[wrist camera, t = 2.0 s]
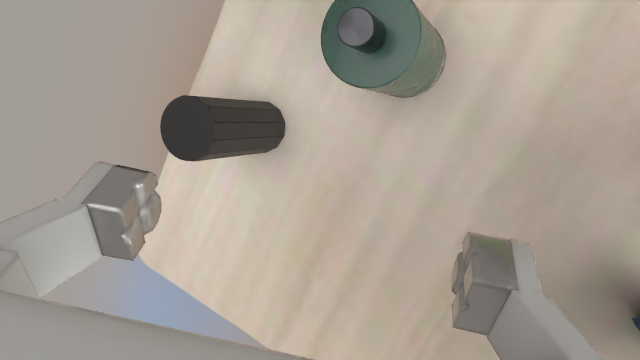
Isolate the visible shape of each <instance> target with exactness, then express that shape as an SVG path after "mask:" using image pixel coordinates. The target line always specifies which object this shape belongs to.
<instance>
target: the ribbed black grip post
mask: <svg viewBox="0 0 640 360" xmlns="http://www.w3.org/2000/svg"><path fill="white" fill-rule="evenodd" d="M284 122H285V121H284V119H283V116H282V114H281V112H280V110H279V109H278V108H276V107H275V106H274V105H272V104H271V103H269V102H259V101H247V100H235V99H222V98H210V97H198V96H186V95H185V96H181V97H178V98H176V99H174V100H173V101H172V102H170V103H169V105H168V106H167V107H166V109H165V110H164V113H163V115H162V119H161V135H162V139H163V142H164V144H165V146H166V147H167V149H168V150H169V151H170V152H171V153H172V154H173V155H174V156H175V157H177V158H179V159H181V160H185V161H201V160H209V159H217V158H225V157H233V156H240V155H248V154H256V153H264V152H268V151H270V150H272V149H274V148H276V147H277V146H278V145H279V143H280V142H281V140H282V139H283V137H284V131H285V123H284Z"/></svg>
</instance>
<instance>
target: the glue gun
mask: <svg viewBox="0 0 640 360" xmlns="http://www.w3.org/2000/svg"><path fill="white" fill-rule="evenodd" d="M632 320H633V322H634V324H635V326H636V327H637V328H638V329H639V330H640V314H639V315H637V316H636V317H634V318H632Z"/></svg>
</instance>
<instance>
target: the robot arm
mask: <svg viewBox="0 0 640 360" xmlns="http://www.w3.org/2000/svg"><path fill="white" fill-rule="evenodd" d="M157 185H158V182H157V178H156V174H154V173H152V172H148V171H143V170H139V169H135V168H130V167H125V166H120V165H113V164H109V163H105V162H97V163H95V164H94V165H93V166H92V167H91V168H90V169H89V170H88V171H87V172H86V174H85V175H84V176H83V177H82V178H81V179H80V180H79V181H78V182H77V183H76V184H75V186H74V187H73V188H72V189H71V190H70V191H69V192H68V194H66V196H65V197H64V198H63V199H62V200H58V199H55V200H53V201H50V202H48V203H46V204H43V205H41V206H38V207H36V208H34V209H31V210H29V211H26V212H24V213H22V214H19V215H17V216H14V217H12V218H10V219H7V220H5V221H3V222H0V360H314V359H310V358H305V357H300V356H296V355H291V354H287V353H282V352H278V351H273V350H269V349H264V348H260V347H255V346H251V345H246V344H241V343H237V342H232V341H228V340H223V339H218V338H214V337H209V336H205V335H201V334H196V333H192V332H187V331H183V330H178V329H173V328H169V327H164V326H160V325H155V324H151V323H146V322H142V321H137V320H133V319H128V318H123V317H119V316H114V315H110V314H105V313H101V312H96V311H91V310H87V309H82V308H78V307H74V306H69V305H64V304H60V303H55V302H51V301H46V300H42V299H40V298H41V297H42V296H43V295H45V294H47V293H48V292H50V291H51V290H53V289H54V288H56V287H57V286H59V285H60V284H62V283H64V282H65V281H66V280H68V279H70V278H71V277H73V276H74V275H76V274H77V273H79V272H80V271H82V270H84V269H85V268H87V267H88V266H90V265H91V264H93V263H94V262H96V261H97V260H99V259H100V258H102V255H104V256H109V257H114V258H120V259H125V260H131V261H134V259H135V258H136V256H137V255H138V253H139V251H140V250H141V248H142V247H143V245H144V244H145V239H144V235H145V234H147V233H149V232H151V231H153V229H154V228H155V226H156V224H157V223H158V220H159V217H160V214H161V198H160V196H159V195H158V194H157V192H156V191H155V190H154V189H155V188H156V186H157ZM462 243H463V252H461V253H459V254H458V255H457V258H456V261H455V264H454V269H453V273H452V291H453V293H454V294H455V295H456V296H455V299H454V301H453V304H452V321H453V328H457V329H462V330H466V331H470V332H474V333H479V334H483V335H487V338H488V340H489V341H490V343H491V345H492V346H493V348H494V350H495V351H496V353H497V355H498V356H499V358H500V360H605V359H604V358H603V356H602V355H601V354H600V353H599V352H598V351H597V350H596V349H595V348H594V346H593V345H592V344H591V343H590V342H589V341H588V340H587V339H586V338H585V337H584V335H583V334H582V333H581V332H580V331H579V330H578V329H577V328H576V327H575V325H574V324H573V323H572V322H571V321H570V320H569V319H568V318H567V317H566V315H565V314H564V313H563V312H562V311H561V310H560V309H559V308H558V307H557V306H556V304H555V303H554V302H553V301H552V300H551V299H550V298H549V297H547V296H542V291H541V286H540V281H539V276H538V271H537V266H536V261H535V256H534V251H533V246H532V245H531V243H529V242H523V241H518V240H512V239H509V240H508V239H505V238H500V237H494V236H489V235H483V234H478V233H472V232H467V234H466V235H465V237H464V240H463V242H462Z"/></svg>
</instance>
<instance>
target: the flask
mask: <svg viewBox="0 0 640 360" xmlns="http://www.w3.org/2000/svg"><path fill="white" fill-rule="evenodd" d="M321 47H322V52H323V55H324V58H325V61H326V63H327V65H328V66H329V68H330V69H331V71H332V72H333V73H334V74H335V75H336V76H337V77H338V78H339V79H341V80H342V81H344V82H345V83H347V84H349V85H352V86H355V87H358V88H363V89H367V90H371V91H376V92H380V93H385V94H389V95H392V96H395V97H401V98H407V97H413V96H417V95H419V94H422V93H423V92H425V91H427V90H428V89H429V88H431V87H432V86H433V85H434V84H435V83H436V81H437V80H438V78H439V77H440V75H441V73H442V71H443V68H444V64H445V55H446V54H445V47H444V43H443V40H442V38H441V36H440V35H439V33H438V32H437V31H436V29H435V28H434V27H433V26H432V25H431V24H430V23H429V21H428V20H427V19H426V17H425V16H424V15H423V14H422V12H421V11H420V10H419V9H418V7H417V6H416V5H415V3H414V2H413V1H412V0H335V1H334V3H333V4H332V5H331V7H330V8H329V10H328V12H327V14H326V16H325V19H324V22H323V26H322V31H321Z"/></svg>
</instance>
